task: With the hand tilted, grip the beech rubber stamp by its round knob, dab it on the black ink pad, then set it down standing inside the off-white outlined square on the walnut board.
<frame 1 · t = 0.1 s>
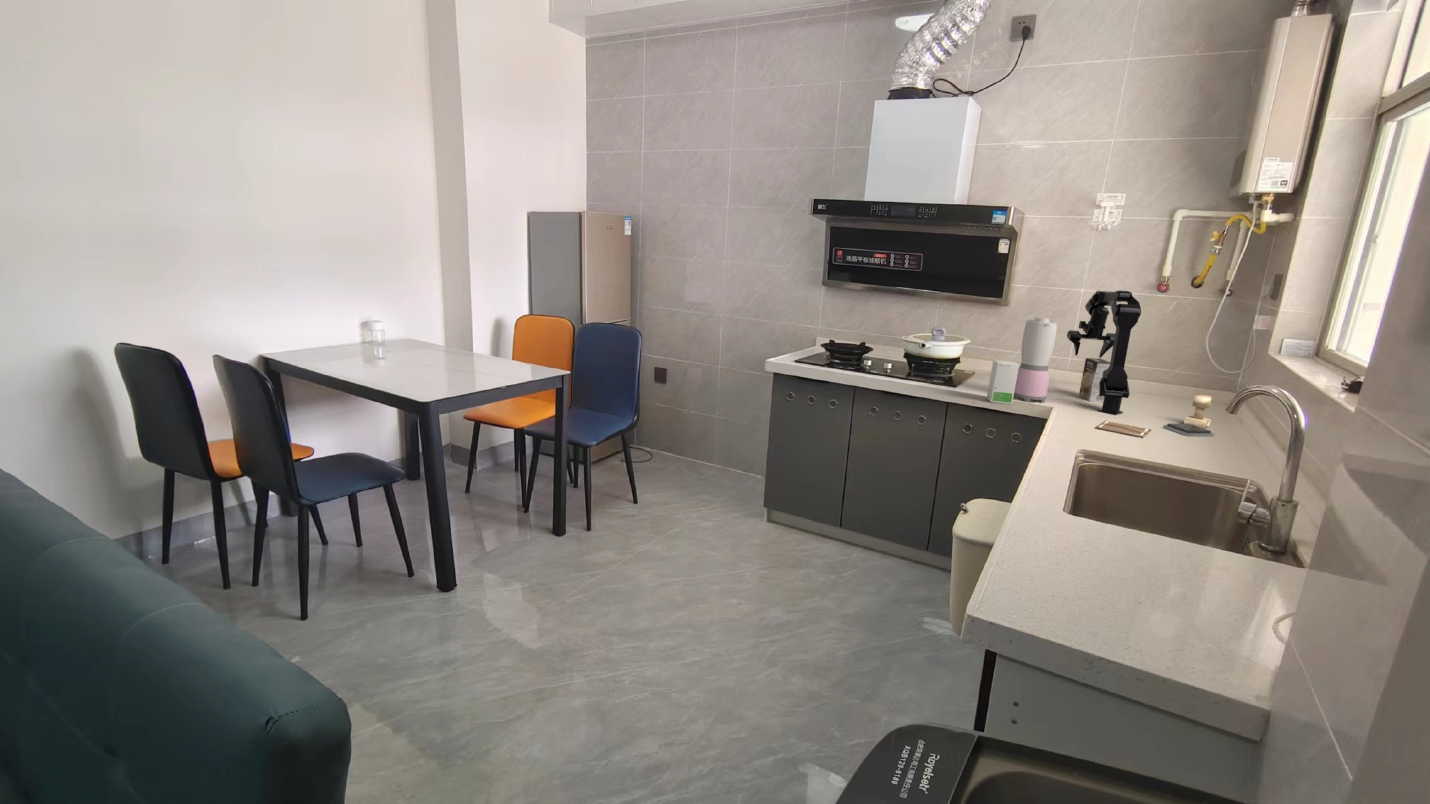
hand: (1087, 356, 279), 15 cm above the countertop, tool pointing down, fingers open, 9 cm apart
ink pad: (1187, 431, 227), on the countertop
stamp board: (1123, 429, 225), on the countertop
skincare box: (999, 402, 257), on the countertop
rubber stamp: (1196, 425, 236), on the countertop
coffee box: (1091, 399, 271), on the countertop
blender: (1026, 398, 266), on the countertop
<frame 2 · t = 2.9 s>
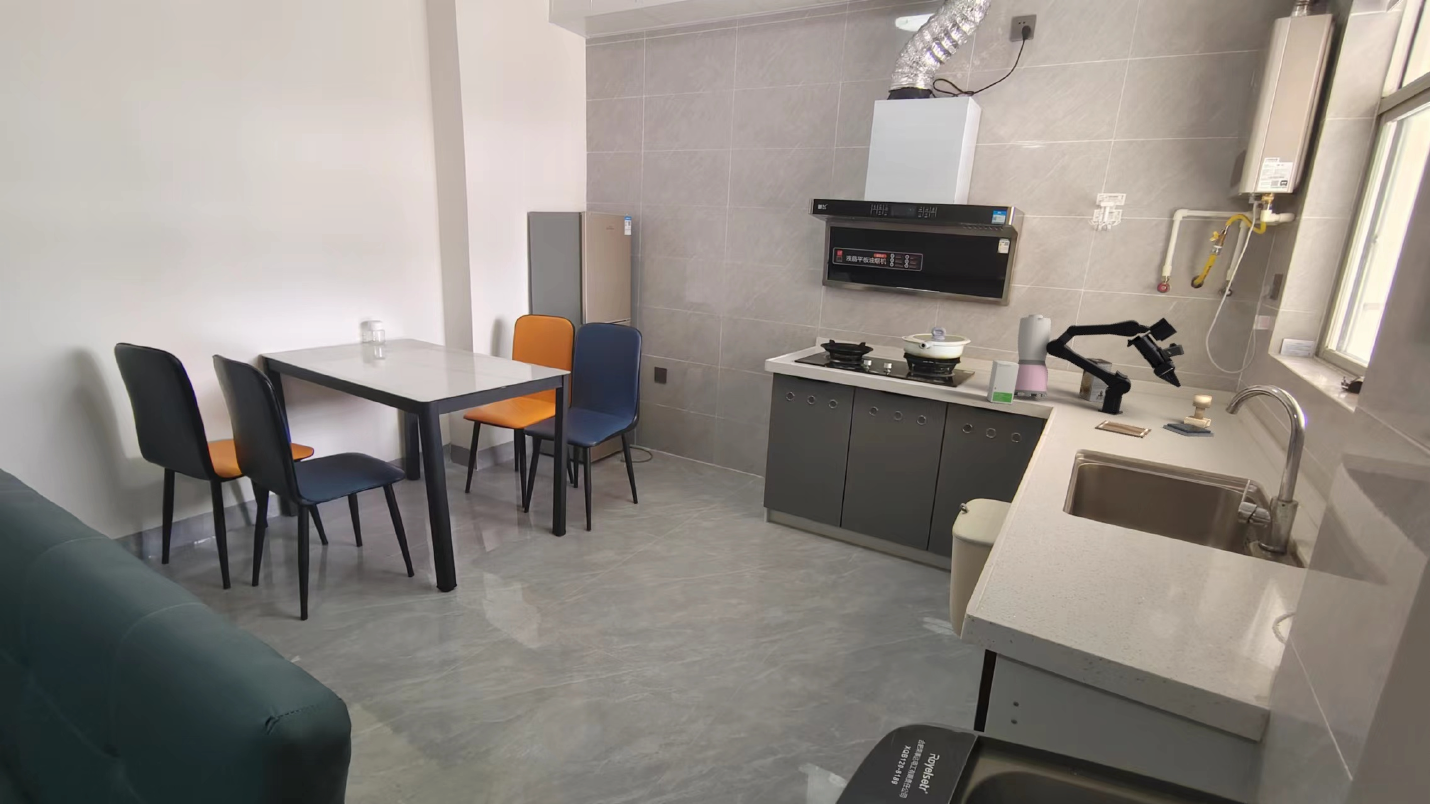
hand: (1178, 384, 237), 14 cm above the countertop, tool tilted 45°, fingers open, 9 cm apart
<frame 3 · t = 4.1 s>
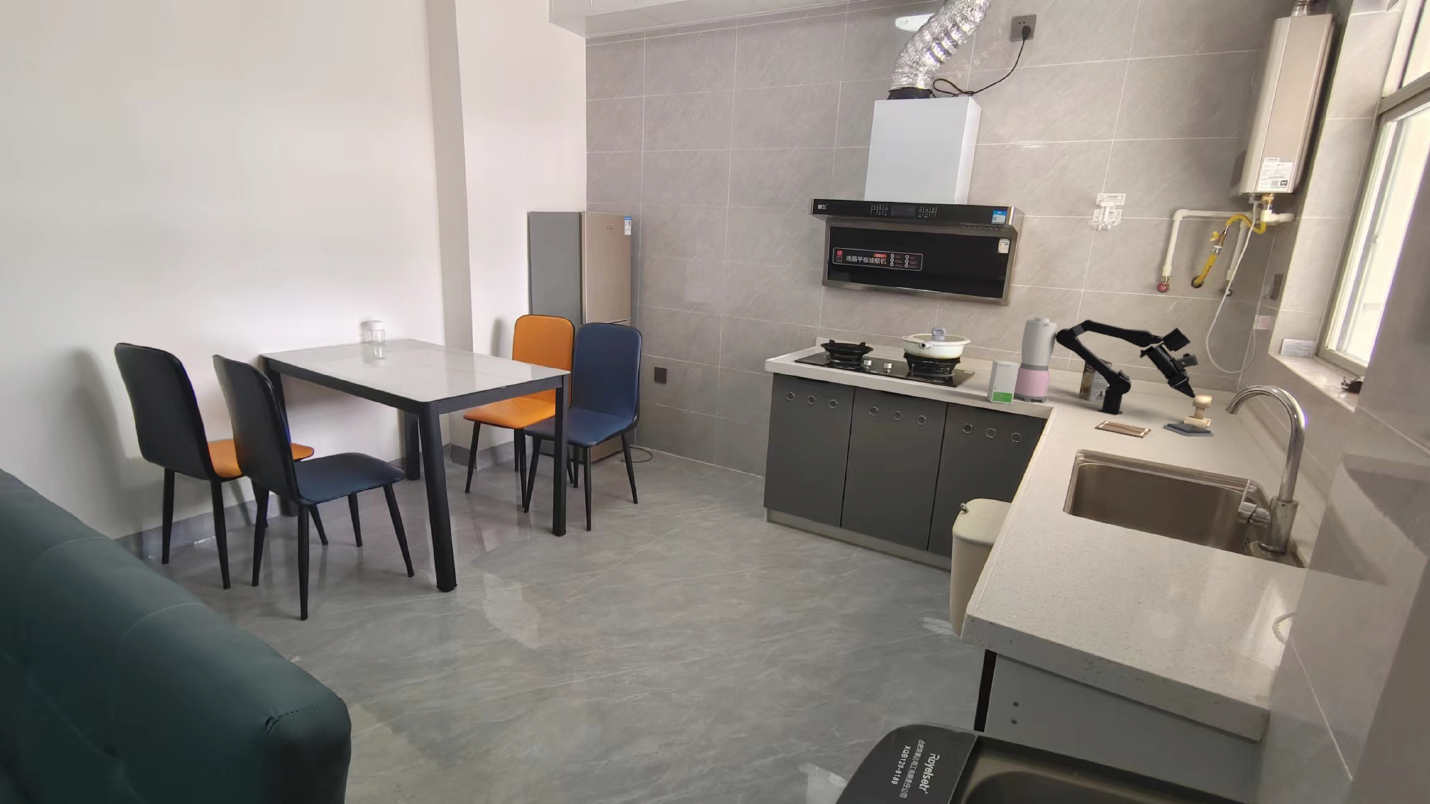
hand: (1193, 395, 235), 11 cm above the countertop, tool tilted 45°, fingers open, 9 cm apart
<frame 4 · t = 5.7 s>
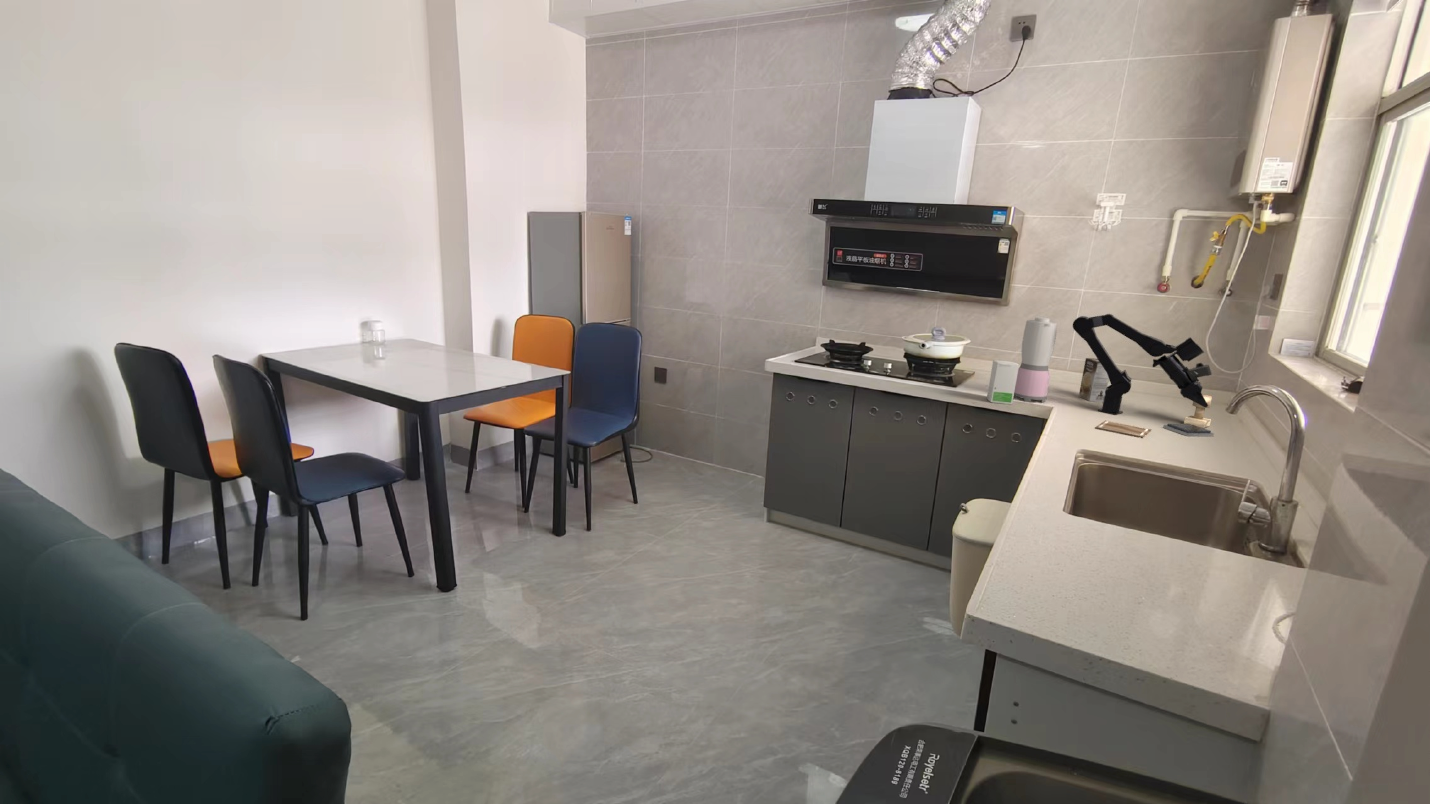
hand: (1206, 405, 234), 8 cm above the countertop, tool tilted 45°, fingers closed on rubber stamp, 5 cm apart
rubber stamp: (1196, 425, 236), on the countertop, touching gripper
everything else where it was.
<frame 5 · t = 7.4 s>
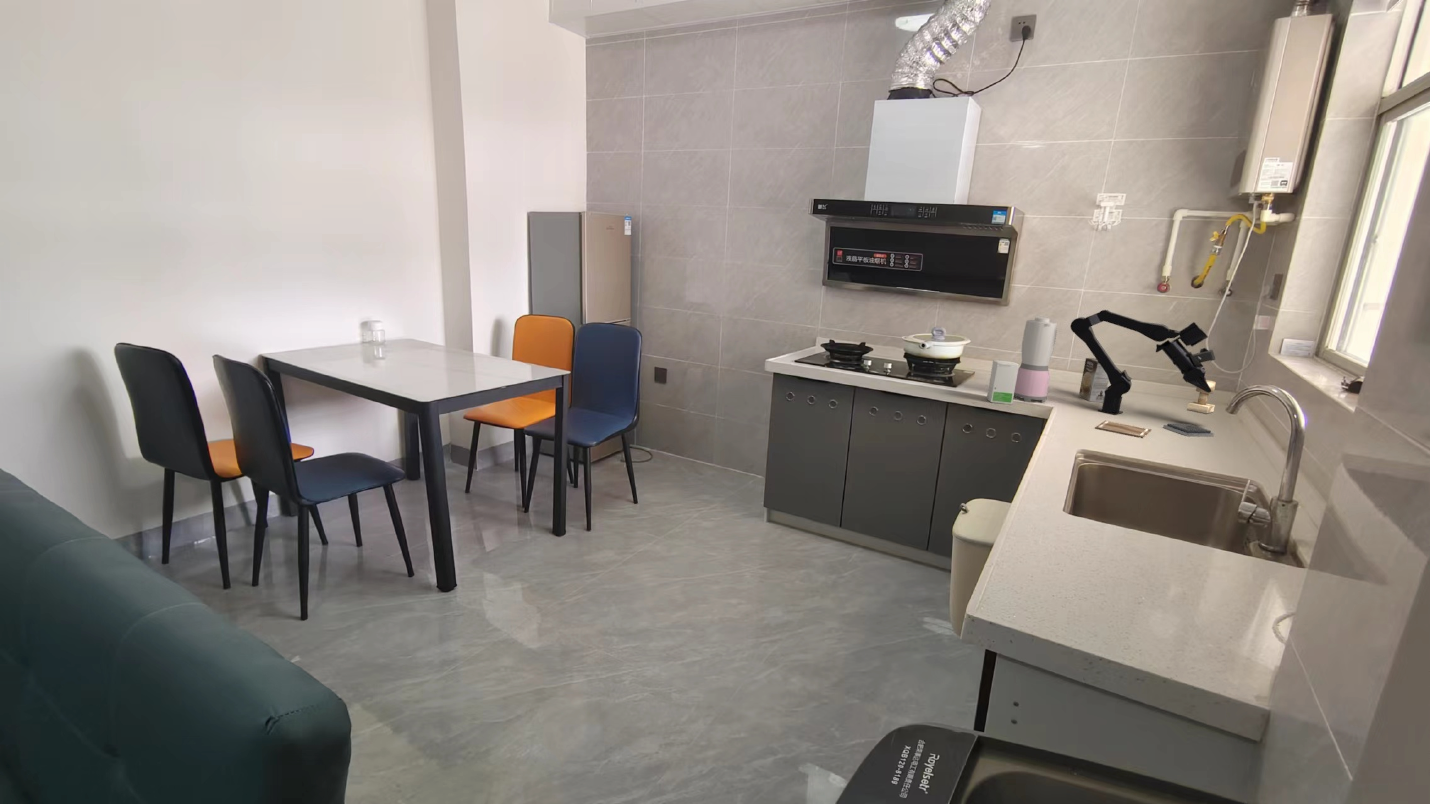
hand: (1209, 390, 232), 13 cm above the countertop, tool tilted 45°, fingers closed on rubber stamp, 5 cm apart
rubber stamp: (1199, 411, 234), point 5 cm above the countertop, touching gripper
everything else where it was.
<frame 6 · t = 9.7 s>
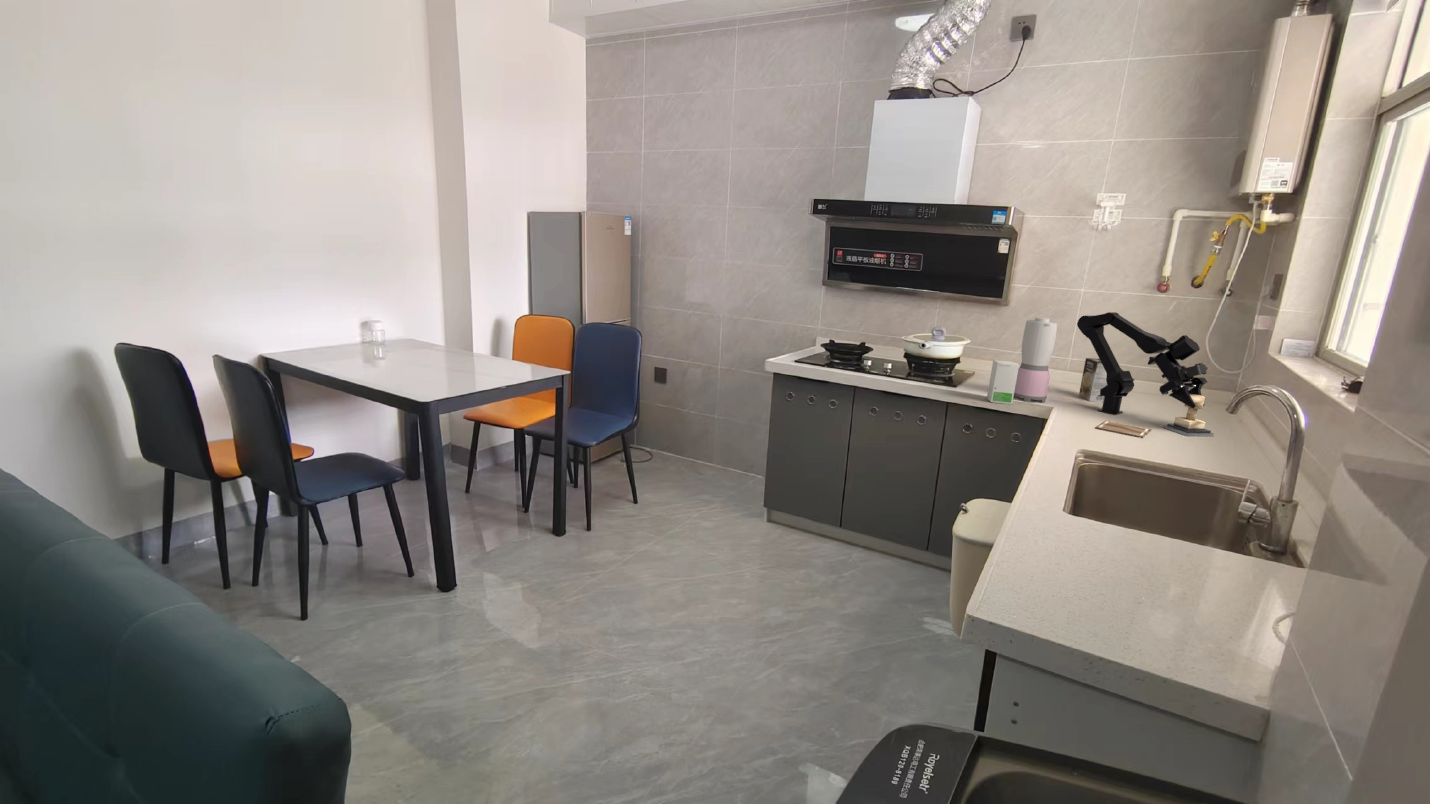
hand: (1198, 407, 223), 9 cm above the countertop, tool tilted 45°, fingers closed on rubber stamp, 5 cm apart
rubber stamp: (1188, 426, 226), point 2 cm above the countertop, touching gripper, ink pad
everything else where it was.
when the fingers open (9 cm above the countertop, at t = 14.4 s): rubber stamp drops 2 cm, resting on stamp board.
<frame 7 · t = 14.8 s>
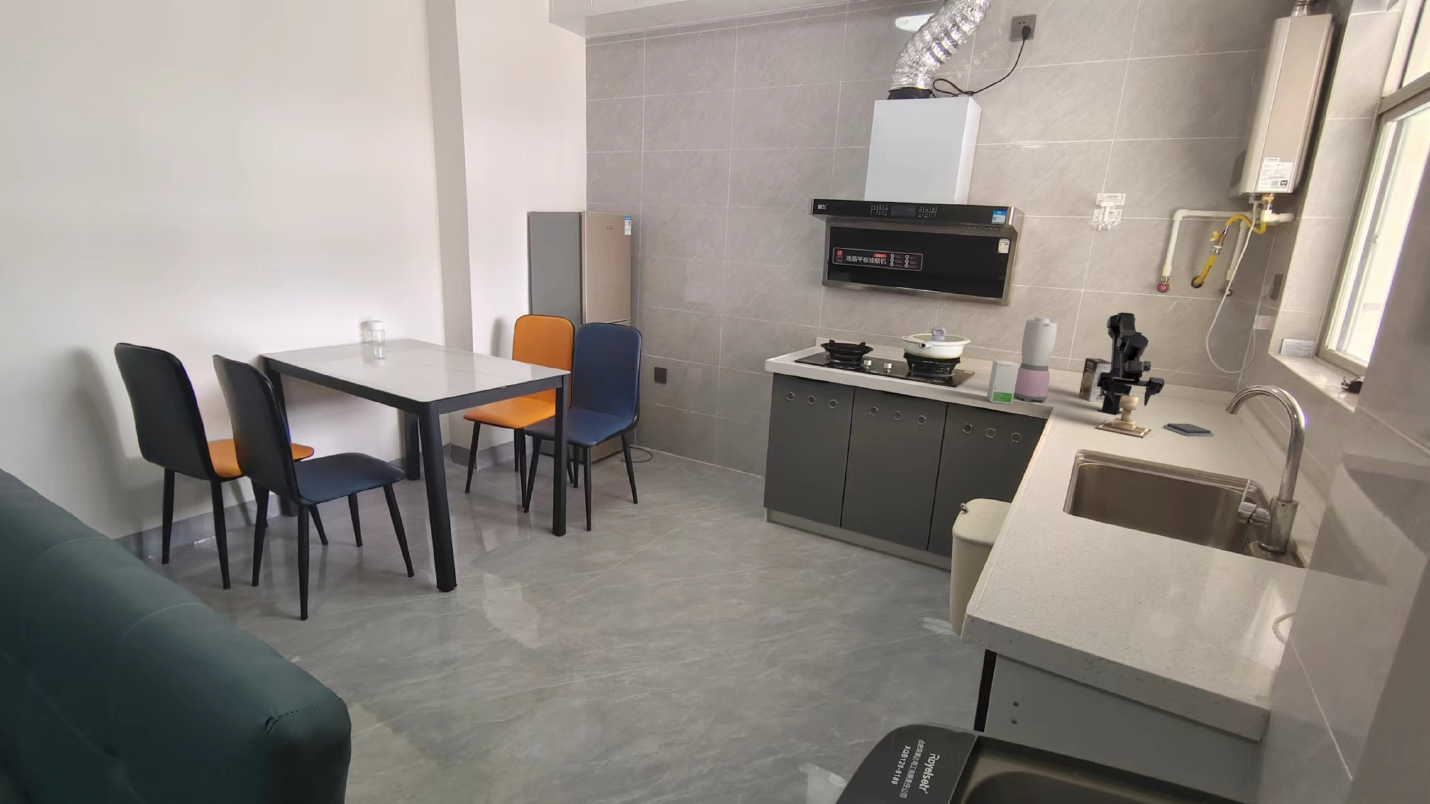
hand: (1129, 403, 222), 9 cm above the countertop, tool tilted 45°, fingers open, 9 cm apart
rubber stamp: (1123, 428, 225), resting on stamp board
everything else where it was.
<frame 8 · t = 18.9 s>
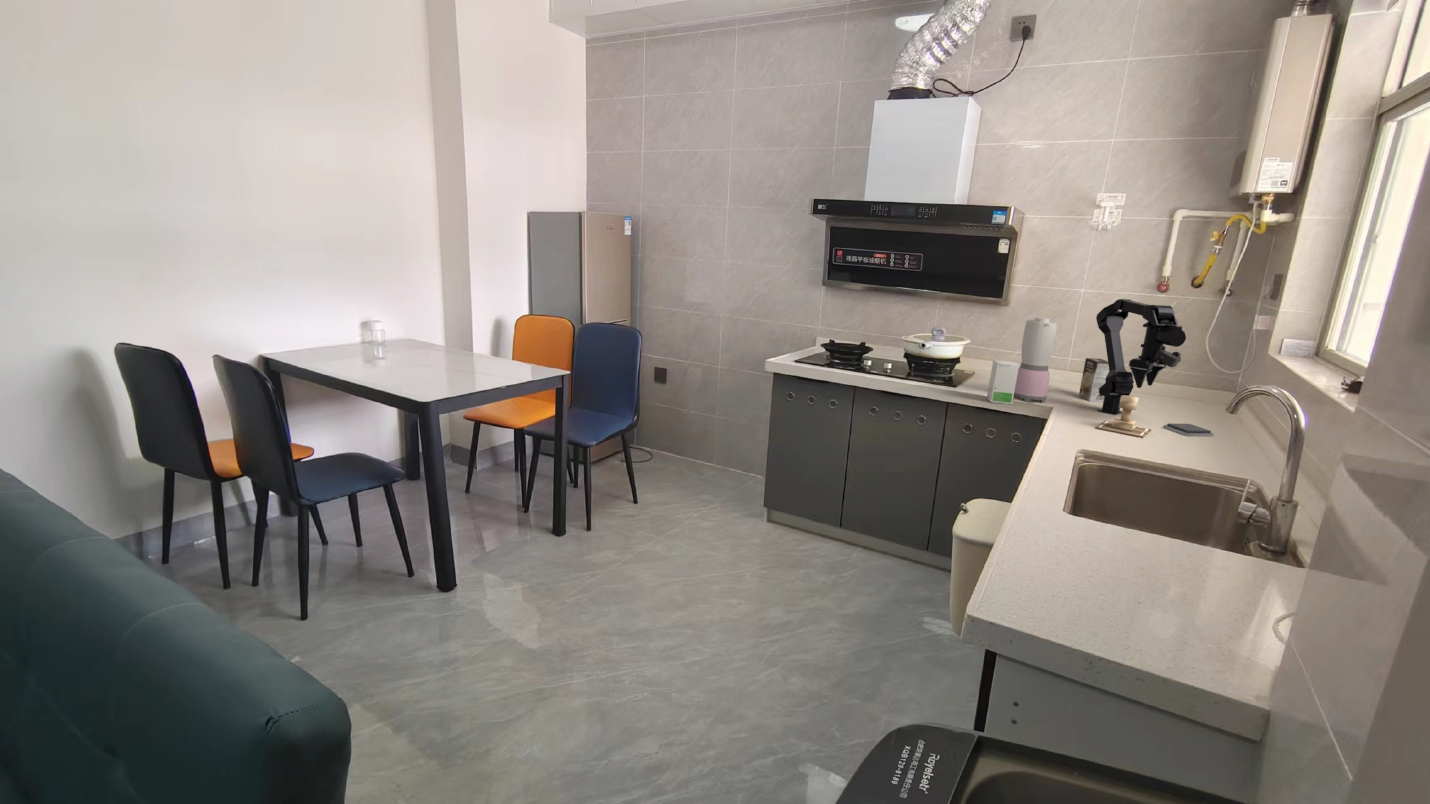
hand: (1144, 386, 233), 13 cm above the countertop, tool pointing down, fingers open, 9 cm apart
nothing on the countertop moved.
at the end: rubber stamp 0.3 cm off-centre on the stamp board, point 0.4 cm above the stamp board's base; rubber stamp tilted 0°; the gripper is holding nothing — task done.
